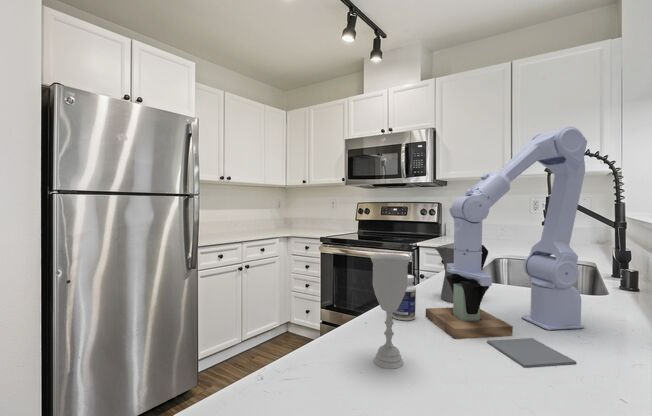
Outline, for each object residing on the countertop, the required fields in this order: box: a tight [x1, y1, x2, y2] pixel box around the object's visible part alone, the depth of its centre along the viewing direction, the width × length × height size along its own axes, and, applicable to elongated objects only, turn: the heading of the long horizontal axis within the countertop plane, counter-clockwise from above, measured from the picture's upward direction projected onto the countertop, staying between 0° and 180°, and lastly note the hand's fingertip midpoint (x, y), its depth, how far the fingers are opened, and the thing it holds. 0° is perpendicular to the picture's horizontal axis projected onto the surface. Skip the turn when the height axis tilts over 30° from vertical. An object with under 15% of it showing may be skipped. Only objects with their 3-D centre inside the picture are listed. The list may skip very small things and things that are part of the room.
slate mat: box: [486, 337, 577, 368], centre depth 62 cm, size 10×10×1 cm
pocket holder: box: [425, 306, 513, 340], centre depth 75 cm, size 13×13×2 cm
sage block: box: [452, 283, 481, 321], centre depth 75 cm, size 4×4×9 cm
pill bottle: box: [392, 274, 417, 321], centre depth 80 cm, size 6×6×10 cm
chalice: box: [369, 253, 412, 370], centre depth 58 cm, size 7×7×18 cm
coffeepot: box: [434, 242, 489, 304], centre depth 95 cm, size 15×9×18 cm, turn 94°
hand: (466, 310), depth 75 cm, fingers closed on sage block, 4 cm apart
